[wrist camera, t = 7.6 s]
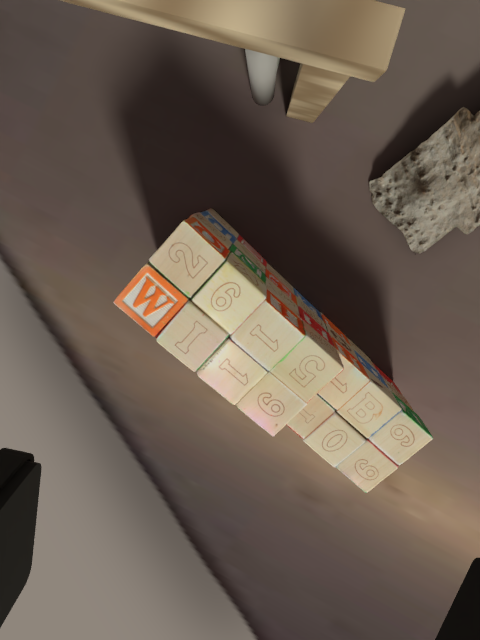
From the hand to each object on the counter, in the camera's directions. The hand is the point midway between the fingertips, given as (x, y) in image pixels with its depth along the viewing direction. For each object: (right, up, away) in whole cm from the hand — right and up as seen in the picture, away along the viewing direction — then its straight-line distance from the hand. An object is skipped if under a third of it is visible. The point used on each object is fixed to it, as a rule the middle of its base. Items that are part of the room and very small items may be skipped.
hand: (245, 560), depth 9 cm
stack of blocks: (+3, +5, +29) cm, 29 cm away
